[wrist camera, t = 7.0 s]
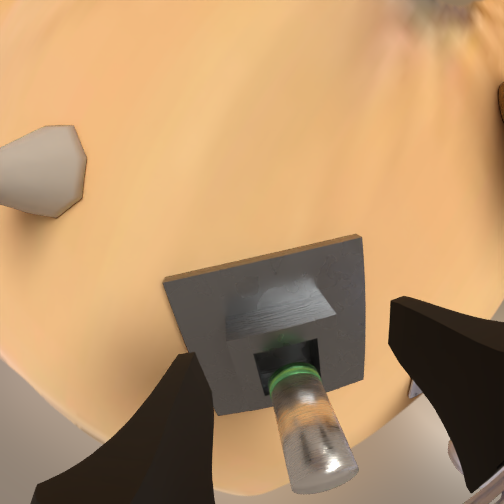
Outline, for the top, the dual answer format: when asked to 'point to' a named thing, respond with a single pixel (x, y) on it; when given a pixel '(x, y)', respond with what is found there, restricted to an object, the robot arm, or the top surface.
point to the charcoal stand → (274, 319)
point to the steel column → (309, 430)
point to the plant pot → (501, 99)
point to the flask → (43, 171)
